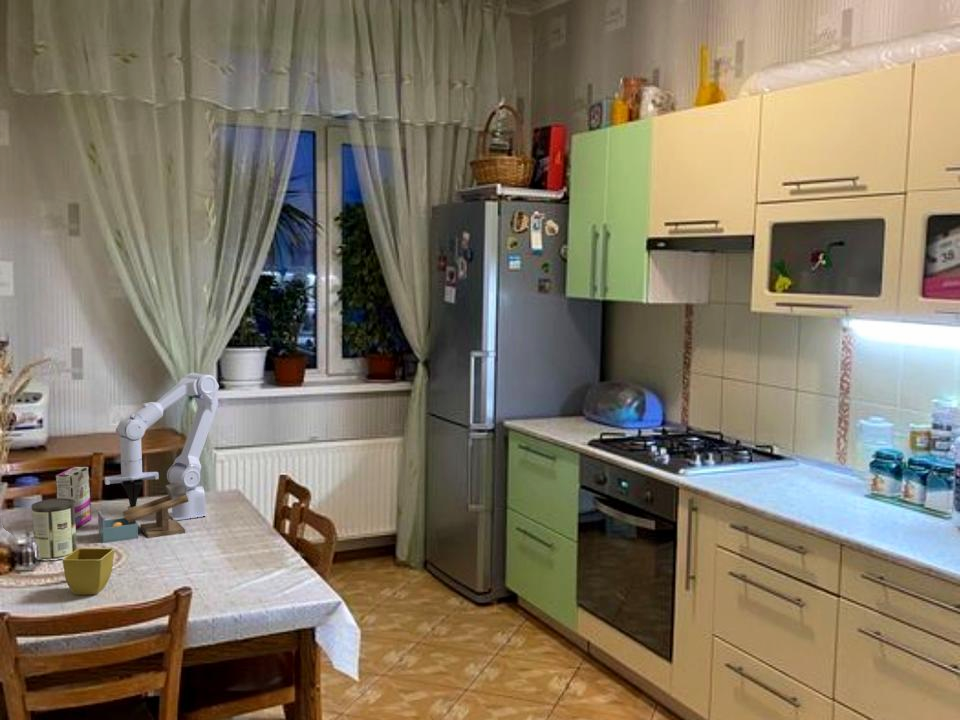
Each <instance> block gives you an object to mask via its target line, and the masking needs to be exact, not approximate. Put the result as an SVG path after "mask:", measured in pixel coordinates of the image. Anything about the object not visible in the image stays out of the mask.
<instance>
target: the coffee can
mask: <svg viewBox="0 0 960 720" xmlns="http://www.w3.org/2000/svg"><path fill="white" fill-rule="evenodd" d="M31 514H32V532H33V540H34V539H35V540H36V542H37V545H38V550H39V554H40V557H41V558H42V559H46V560H51V559H61V558H65V557H66V556H68V555H69V554H71V553H72V552H73V551H75V550H76V549H78V548H77V532H76V531H77V529H76V526H75V501H74V500H73V499H67V498H58V499H57V498H51V499H50V498H49V499H43V500H40V501H37V502H34V503H32V504H31Z"/></svg>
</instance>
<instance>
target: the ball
mask: <svg viewBox="0 0 960 720" xmlns="http://www.w3.org/2000/svg"><path fill="white" fill-rule="evenodd" d="M115 526H123V524H122V523H120V522H117V523H114V524H113V525H112V527H115Z"/></svg>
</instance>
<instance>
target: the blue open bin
mask: <svg viewBox="0 0 960 720" xmlns="http://www.w3.org/2000/svg"><path fill="white" fill-rule="evenodd" d="M117 522H120V523H122V524H123V526H115V527H112V525H113V524H114V523H117ZM97 526H98V529H97V530H98V536H99V538H100V539H101V541H102V543H104V544H105V543H106V544H107V543H111V542H118V541H127V540H133V539H138V538H139V530H138V529H139V528H138V522H137V520H136V521H133V522H131V523H128V522H127V520H126V519H125V517H119V518H111V519H106V518H105V515H103V513H102V512H101V510H97Z"/></svg>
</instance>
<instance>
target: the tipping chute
mask: <svg viewBox="0 0 960 720" xmlns="http://www.w3.org/2000/svg"><path fill="white" fill-rule="evenodd" d="M165 489H166V492H167V495H165V496H162V497H160V498H156V499H154V500H151V501H148V502H146V503H143V504H139V503H137V502H136V506H135V507H131V506H130V505H128V506H126V508H127V509H126V510H124V511H122V514H123V518H125V519H126V520H127V522H128V523H131V522H133V521H136V522H137V521H140V520H142V519H144V518H147V517H150V516H152V515H156V513H158V512H161V508H162V507H168V510H169V509H172V507H175V506H177V505H180V504H183V503H186V502H188V497H187V495H186V492H185V488H184V485H183V484H182V483H181V482H180V481H177V482H175V483H172V484H171V483H169V484H166V485H165Z"/></svg>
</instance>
